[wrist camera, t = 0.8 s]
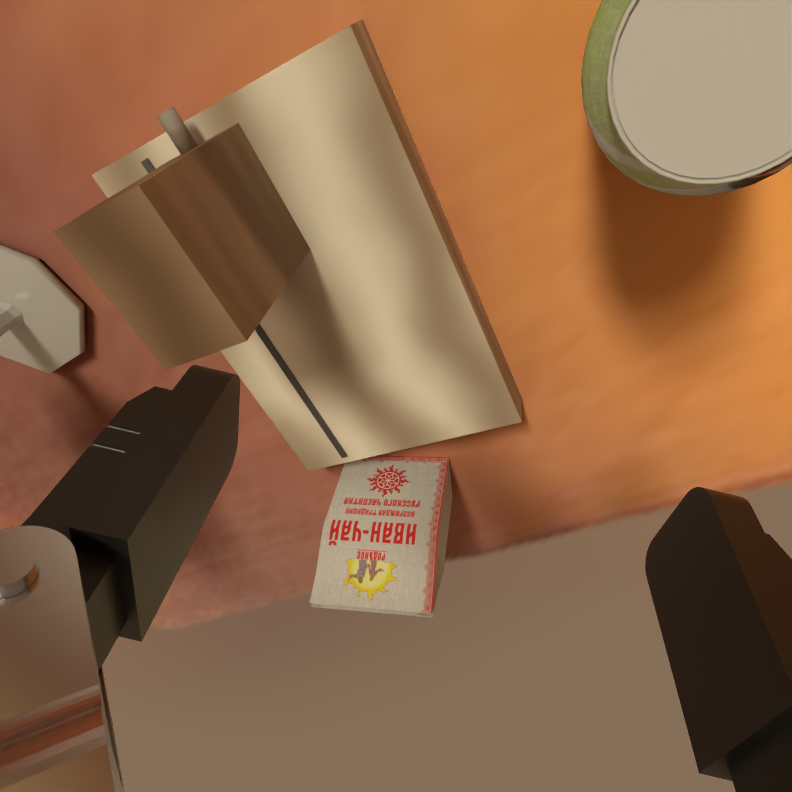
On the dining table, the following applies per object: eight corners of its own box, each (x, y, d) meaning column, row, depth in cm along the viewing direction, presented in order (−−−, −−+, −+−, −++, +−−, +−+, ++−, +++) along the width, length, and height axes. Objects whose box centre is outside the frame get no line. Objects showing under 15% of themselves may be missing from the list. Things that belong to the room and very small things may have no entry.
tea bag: (452, 496, 39) (435, 635, 31) (357, 492, 40) (317, 624, 32) (448, 457, 36) (428, 595, 29) (347, 455, 38) (302, 585, 30)
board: (361, 19, 22) (349, 25, 21) (521, 399, 32) (522, 423, 31) (115, 162, 28) (90, 176, 26) (317, 449, 38) (308, 472, 36)
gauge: (215, 83, 23) (103, 134, 17) (310, 249, 27) (246, 340, 21) (144, 125, 24) (17, 187, 18) (243, 276, 28) (166, 369, 22)
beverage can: (666, 161, 24) (758, 300, 14) (524, 54, 22) (524, 133, 13) (807, 4, 20) (1055, 58, 11) (646, -137, 18) (771, -218, 9)
